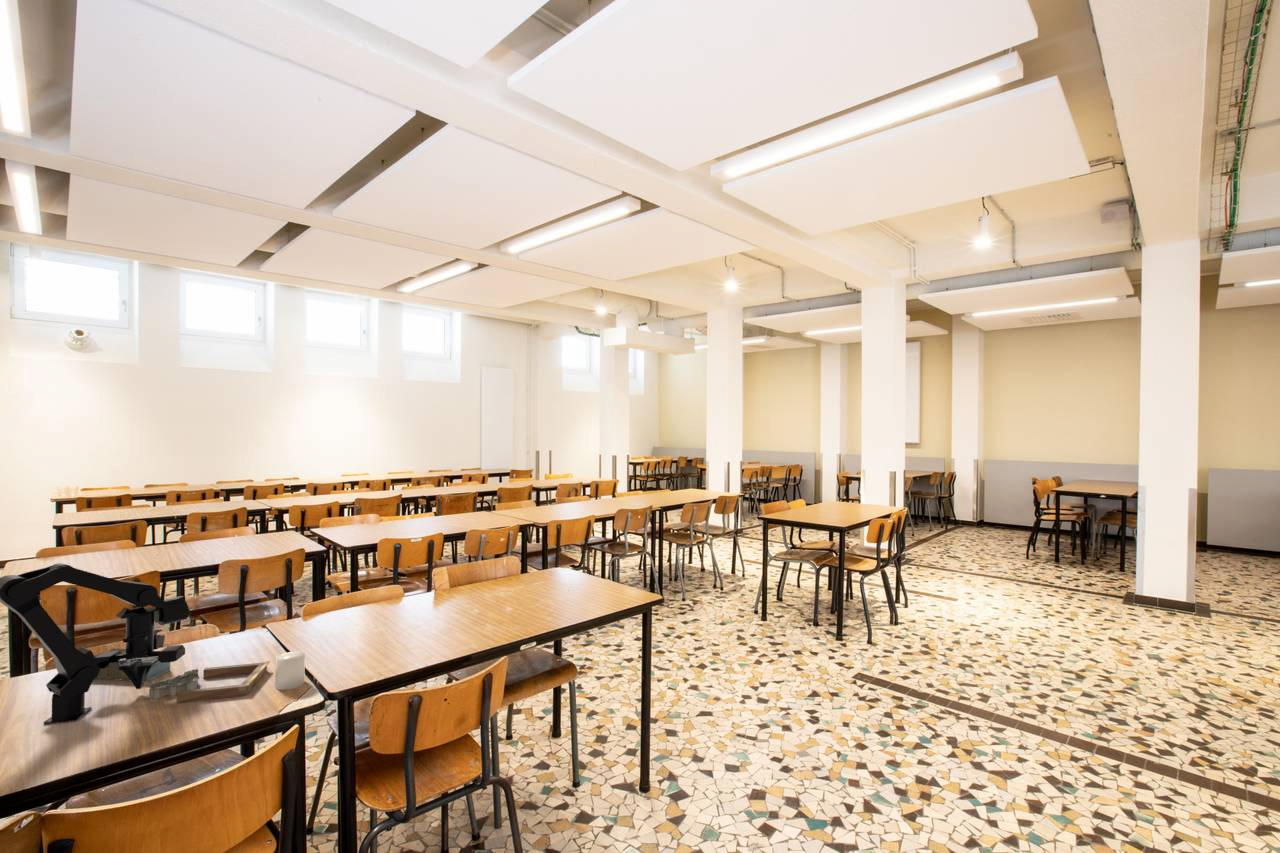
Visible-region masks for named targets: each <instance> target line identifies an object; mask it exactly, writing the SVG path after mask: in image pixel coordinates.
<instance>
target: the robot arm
mask: <svg viewBox="0 0 1280 853" xmlns="http://www.w3.org/2000/svg"><path fill="white" fill-rule="evenodd" d="M62 582H64V583H68V584H71V585H74V586H79V587H83V588H86V589H89V590H90V589H91V590H93V591H97V592H101V593H104V594H105V593H106V594H108V595H110V596H111V597H114V598H116V599H118V600H120V601H123V602H124V603H126V604H129V605H132V606H135V607H134V608H131V609H130V608H128V607H125V606H124V607H123V608H122V610H120V611H119V612H118V613H116V614H115V618H118V619H121V620H122V619H123V620H124V619H125V637H124V638H122V643H125V649H126V653H124V654H122V652H121V651H120V650H117V651H109V650H105V651H102V652H101V653H102V654H100V653H99V654H100V655H98V654H97V655H98V656H97V657H94V656H95V655H94V652H93V650H91V649H88V648H86V647H84V646H79V648H76V647H75V646H74V644H73V643H72V642H71V640H69V637H67V636H66V634H65V633H64V632H63V631H62V629H61V628H60V627H59V625H58V624H57V623H56V621H54V620H53V618H52V617H51V616H50V615H49V613H48V612H47V611H46V610H45V608H44V607H43V606H42V604H41V603H42V602H41V598H40V594H39V593H40V592H42V591H43V592H44V591H45V590H47V589H49V588H51V587H53V586H55V585H57V584H60V583H62ZM158 594H159V592H158V588H157V587H155V586H154V585H151V584H147V583H144V582H140V581H139V582H138V581H130V580H117V579H114V578H110V577H107V576H104V575H100V574H97V573H93V572H90V571H87V570H83V569H81V568H80V569H79V568H75V567H73V566H71V565H69V564H65V563H61V562H60V563H54V564H52V565H49V566H47V567H43V568H38V569H33V570H31V571H26V572H23V573H20V574H17V575H14V574H9V575H4V576H2V577H0V603H1V604H2V605H3V606H5V607H6V608H8V609H9V610H11V612H14V613H15V614H17V616H18V617H19V618H20V619H21V621H22V622H24V624H25V625H26V626H27V628H28V629H29V630H30V631H31V632H32V633H33V634H34V636H35V637H36V638H37V640H38V641H39V643H41V644H42V646H44V648H45V650H47V651H48V652H49V654H50V655H51V656H52V658H53V661H54V662H53V663H54V667H55V668H56V670H57V673H56V675H54V676H53V678H51V680H49V682H47V683H46V685H45V687H47V689H48V691H49V692H50V693H52V696H51V697H52V698H51V716H50V717H49V718H47V719H46V720H45V721H43V724H44V725H49V724H57V723H59V724H60V723H68V722H75V721H77V720H79V719H80V718H82V717H83V716H84V715H86V714H87V713H89V712H90V711H91V710H93V708H92V706H89V707H86V706H85V698H86V697H85V696H86V693H88V692H89V690H90V687H91V685H92V683H93V681H94V680H96V677H97V676H98V674H99V671H100V669H103V668H106V667H107V666H108V665H109V663H113V662H120V667H118V670H122V671H123V672H124V673H125V674H126V675H127V676H128V678H129V679H130V680H131V681H130V682H131V683H132V685H133V686H134V688H135V689H136V690H140V689H142V688H143V687H144V684H145V682H146V681H145V679H146V677H147V675H148V672H149V670H150V669H151V667H152V665H154V664H155V663H156V662H158V661H160V662H161V663H166V662H170V663H174V662H177V661H178V660H179V659H181V658H182V657H183V656H184V655H186V648H185V646H184V645H183V644H176V645H174V644H173V645H167V646H165V648H164V644H165V638H166V635H164V634H157V633H158V632H157V629H155V623H156V624H157V623H158V624H159V625H160V626H165V625H170V624H175V623H178V622H181V621H185V620H187V619H188V618H189V617H190V616H189V615H190V608H189V605H188V602H186V597H185V596H183V595H179V596H176V597H172V598H168V599H162V597H161V596H160V595H158ZM148 606H149V608H145V607H148ZM159 648H163V649H162V650H158V649H159ZM141 662H142V663H141Z"/></svg>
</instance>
